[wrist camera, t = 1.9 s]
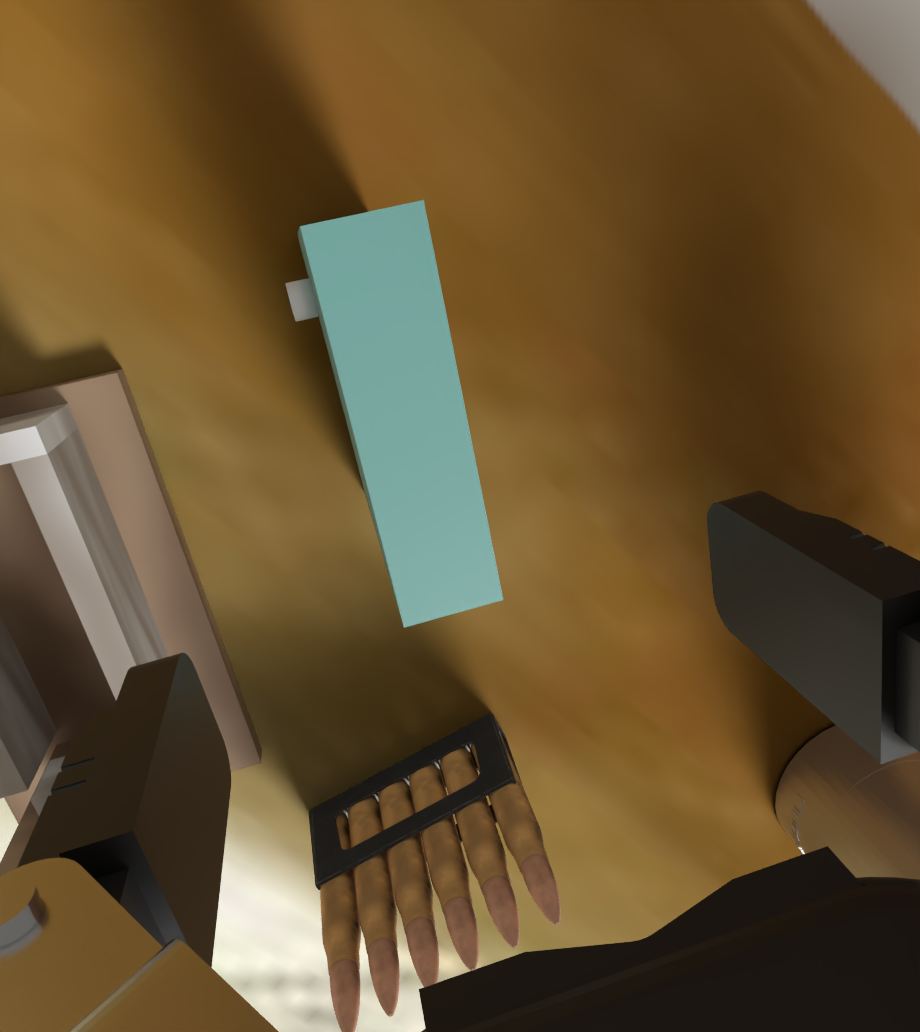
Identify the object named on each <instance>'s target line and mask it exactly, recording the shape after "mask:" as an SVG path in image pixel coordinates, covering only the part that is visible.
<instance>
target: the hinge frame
mask: <svg viewBox="0 0 920 1032" xmlns="http://www.w3.org/2000/svg"><path fill="white" fill-rule="evenodd" d="M179 653H186V654H187V655H188V656H189V657H190V659H191V660H192V662H193V664H194V667H195V669H196V671H197V674H198V676H199V679H200V681H201V684H202V686H203V689H204V691H205V694H206V696H207V699H208V702H209V704H210V707H211V709H212V712H213V714H214V717H215V719H216V722H217V724H218V727H219V729H220V732H221V734H222V737H223V739H224V742H225V745H226V749H227V753H228V757H229V763H230V770H231V772H232V771H235V770H238V769H242V768H245V767H249V766H252V765H255V764H259V763H261V756H262V749H261V746H260V743H259V741H258V738H257V735H256V732H255V730H254V727H253V724H252V721H251V719H250V716H249V713H248V711H247V708H246V705H245V702H244V700H243V697H242V694H241V691H240V689H239V686H238V683H237V681H236V678H235V675H234V672H233V670H232V667H231V664H230V661H229V659H228V656H227V653H226V650H225V648H224V645H223V642H222V640H221V637H220V634H219V631H218V629H217V626H216V623H215V620H214V618H213V615H212V612H211V609H210V607H209V604H208V601H207V599H206V596H205V593H204V590H203V588H202V585H201V582H200V579H199V577H198V574H197V571H196V568H195V566H194V563H193V560H192V558H191V555H190V552H189V549H188V547H187V544H186V541H185V538H184V536H183V533H182V530H181V528H180V525H179V522H178V519H177V517H176V514H175V511H174V508H173V506H172V503H171V500H170V497H169V495H168V492H167V489H166V487H165V484H164V481H163V478H162V476H161V473H160V470H159V467H158V465H157V462H156V459H155V456H154V454H153V451H152V448H151V446H150V443H149V440H148V437H147V435H146V432H145V429H144V426H143V424H142V421H141V418H140V415H139V413H138V410H137V407H136V405H135V402H134V399H133V396H132V394H131V391H130V388H129V385H128V383H127V380H126V377H125V375H124V372H123V369H120V370H115V371H111V372H106V373H102V374H98V375H93V376H89V377H84V378H80V379H76V380H71V381H67V382H62V383H58V384H54V385H49V386H45V387H40V388H36V389H32V390H27V391H23V392H18V393H14V394H10V395H5V396H1V397H0V798H3V797H4V798H5V800H6V802H7V804H8V805H9V807H10V809H11V811H12V813H13V815H14V817H15V818H16V820H17V822H18V824H19V825H18V827H17V829H16V831H15V833H14V835H13V838H12V840H11V842H10V844H9V846H8V848H7V850H6V852H5V854H4V857H3V859H2V861H1V863H0V876H2V875H4V874H6V873H8V872H10V871H12V870H14V869H16V868H17V866H18V864H19V861H20V859H21V857H22V854H23V852H24V850H25V848H26V845H27V843H28V841H29V838H30V836H31V834H32V832H33V829H34V827H35V825H36V822H37V820H38V818H39V816H40V813H41V811H42V809H43V806H44V804H45V802H46V800H47V797H48V796H50V795H51V788H52V786H53V783H54V781H55V779H56V777H57V774H58V773H59V772H61V765H62V763H63V761H64V758H65V756H66V754H67V751H68V749H69V747H70V745H71V742H72V740H73V739H74V738H75V737H76V736H77V735H78V734H79V732H80V731H81V730H82V729H83V728H84V727H85V726H86V725H87V724H88V723H89V722H90V721H91V720H92V718H93V717H94V716H95V715H96V714H97V713H98V712H101V711H105V710H108V709H112V708H114V705H115V703H116V700H117V697H118V695H119V692H120V690H121V687H122V684H123V682H124V679H125V676H126V674H127V671H128V669H129V668H130V667H133V666H137V665H140V664H144V663H147V662H151V661H155V660H158V659H162V658H165V657H169V656H172V655H176V654H179Z"/></svg>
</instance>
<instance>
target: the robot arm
mask: <svg viewBox="0 0 920 1032" xmlns="http://www.w3.org/2000/svg"><path fill="white" fill-rule="evenodd" d="M707 524H708V536H709V547H710V559H711V571H712V582H713V593H714V599H715V604H716V607H717V610H718V612H719V615H720V617H721V619H722V621H723V623H724V624H725V626H726V627H727V628H728V630H729V631H730V632H731V633H732V634H733V635H734V636H736V637H737V638H738V639H739V640H740V641H741V642H742V643H743V644H745V645H746V646H747V647H748V648H749V649H750V650H751V651H753V652H754V653H755V654H756V655H757V656H758V657H759V658H761V659H762V660H763V661H764V662H765V663H766V664H767V665H768V666H770V667H771V668H772V669H773V670H774V671H775V672H776V673H778V674H779V675H780V676H781V677H782V678H783V679H784V680H785V681H787V682H788V683H789V684H790V685H791V686H792V687H793V688H795V689H796V690H797V691H798V692H799V693H800V694H801V695H803V696H804V697H805V698H806V699H807V700H808V701H809V702H810V703H812V704H813V705H814V706H815V707H816V708H817V709H818V710H820V711H821V712H822V713H823V714H824V715H825V716H826V717H828V718H829V719H830V720H831V721H832V722H833V723H834V724H835V726H833V727H831V728H829V729H827V730H825V731H823V732H822V733H820V734H819V735H817V736H816V737H815V738H813V739H812V740H810V741H809V742H808V743H807V744H806V745H805V746H804V747H803V748H802V749H801V750H800V751H799V752H798V753H797V754H796V755H795V756H794V758H793V759H792V760H791V762H790V763H789V764H788V766H787V767H786V769H785V771H784V773H783V775H782V777H781V779H780V782H779V785H778V789H777V792H776V802H775V808H776V814H777V818H778V820H779V822H780V824H781V826H782V828H783V829H784V831H785V832H786V833H787V834H788V835H789V837H790V838H791V839H792V840H793V841H794V842H795V844H796V845H797V847H798V848H799V850H800V851H801V852H802V853H803V855H801V856H798V857H795V858H792V859H789V860H786V861H784V862H781V863H778V864H775V865H772V866H769V867H767V868H764V869H761V870H758V871H755V872H752V873H749V874H747V875H744V876H741V877H738V878H735V879H732V880H731V881H730V882H728V883H727V884H725V885H724V886H722V887H721V888H719V889H718V890H716V891H715V892H714V893H712V894H711V895H709V896H708V897H706V898H705V899H703V900H702V901H700V902H699V903H698V904H696V905H695V906H693V907H692V908H690V909H689V910H687V911H686V912H684V913H683V914H682V915H680V916H679V917H677V918H676V919H674V920H673V921H671V922H670V923H668V924H667V925H666V926H664V927H663V928H661V929H660V930H658V931H657V932H655V933H654V934H652V935H650V936H649V937H647V938H644V939H641V940H638V941H633V942H624V943H614V944H604V945H594V946H583V947H573V948H563V949H553V950H543V951H532V952H524V953H521V954H518V955H516V956H513V957H510V958H507V959H504V960H501V961H498V962H496V963H493V964H490V965H487V966H484V967H481V968H478V969H476V970H473V971H470V972H467V973H464V974H461V975H459V976H456V977H453V978H450V979H447V980H444V981H441V982H439V983H436V984H433V985H430V986H427V987H424V988H421V989H419V992H420V998H421V1004H422V1010H423V1015H424V1021H425V1027H426V1029H424V1030H423V1031H422V1032H920V561H919V560H917V559H915V558H913V557H911V556H909V555H907V554H905V553H903V552H901V551H899V550H897V549H895V548H893V547H891V546H888V547H885V545H884V543H883V542H881V541H879V540H877V539H875V538H873V537H871V536H869V535H865V536H863V534H862V532H861V531H859V530H857V529H855V528H853V527H851V526H849V525H847V524H845V523H843V522H841V521H839V520H837V519H835V518H830V517H826V516H821V515H817V514H812V513H808V512H804V511H799V510H797V509H795V508H793V507H791V506H790V505H788V504H786V503H784V502H782V501H780V500H778V499H776V498H774V497H772V496H770V495H769V494H767V493H765V492H762V491H757V492H753V493H749V494H746V495H742V496H739V497H735V498H732V499H728V500H725V501H721V502H718V503H714V504H713V505H711V507H710V508H709V511H708V517H707ZM230 790H231V770H230V763H229V757H228V753H227V749H226V745H225V742H224V739H223V737H222V734H221V732H220V729H219V727H218V724H217V722H216V719H215V717H214V714H213V712H212V709H211V707H210V704H209V702H208V699H207V696H206V694H205V691H204V689H203V686H202V684H201V681H200V679H199V676H198V674H197V671H196V669H195V667H194V664H193V662H192V660H191V659H190V657H189V656H188V655H187V654H186V653H179V654H176V655H172V656H169V657H165V658H162V659H158V660H155V661H151V662H147V663H144V664H140V665H137V666H133V667H130V668H129V669H128V671H127V674H126V676H125V679H124V682H123V684H122V687H121V690H120V692H119V695H118V697H117V700H116V703H115V705H114V708H112V709H108V710H105V711H101V712H98V713H97V714H96V715H95V716H94V717H93V718H92V720H91V721H90V722H89V723H88V724H87V725H86V726H85V727H84V728H83V729H82V730H81V731H80V732H79V734H78V735H77V736H76V737H75V738H74V739H73V740H72V742H71V745H70V747H69V749H68V751H67V754H66V756H65V758H64V761H63V763H62V765H61V772H59V773H58V774H57V777H56V779H55V781H54V783H53V786H52V788H51V795H50V796H48V797H47V800H46V802H45V804H44V806H43V809H42V811H41V813H40V816H39V818H38V820H37V822H36V825H35V827H34V829H33V832H32V834H31V836H30V838H29V841H28V843H27V845H26V848H25V850H24V852H23V854H22V857H21V859H20V861H19V864H18V866H17V868H16V869H14V870H12V871H10V872H8V873H6V874H4V875H2V876H0V1032H278V1031H277V1030H276V1029H275V1028H274V1027H273V1026H272V1025H271V1024H270V1023H269V1022H268V1021H267V1020H266V1019H265V1018H264V1017H263V1016H262V1015H260V1014H259V1013H258V1012H257V1011H256V1010H255V1009H254V1008H253V1007H252V1006H251V1005H250V1004H249V1003H248V1002H247V1001H246V1000H245V999H244V998H243V997H242V996H240V995H239V994H238V993H237V992H236V991H235V990H234V989H233V988H232V987H231V986H230V985H229V984H228V983H227V982H226V981H225V980H224V979H223V978H221V977H220V976H219V975H218V974H217V973H216V972H215V971H214V970H213V969H212V968H211V966H212V957H213V948H214V938H215V929H216V920H217V910H218V901H219V892H220V883H221V873H222V864H223V855H224V845H225V836H226V827H227V817H228V808H229V799H230Z"/></svg>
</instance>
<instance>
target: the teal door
mask: <svg viewBox="0 0 920 1032" xmlns="http://www.w3.org/2000/svg"><path fill="white" fill-rule="evenodd" d="M297 236H298V240H299V243H300V247H301V251H302V255H303V259H304V262H305V266H306V270H307V274H308V278H307V279H302V280H298V281H293V282H289V283H285V284H286V289H287V292H288V296H289V300H290V304H291V307H292V311H293V314H294V318H295V321H296V322H297V321H301V320H306V319H310V318H315V317H319V320H320V324H321V327H322V331H323V335H324V339H325V343H326V347H327V350H328V354H329V358H330V362H331V366H332V370H333V373H334V377H335V381H336V385H337V389H338V392H339V396H340V400H341V404H342V408H343V412H344V415H345V419H346V423H347V427H348V431H349V434H350V438H351V442H352V446H353V450H354V454H355V457H356V461H357V465H358V469H359V473H360V477H361V480H362V484H363V488H364V492H365V495H366V499H367V502H368V506H369V509H370V512H371V516H372V519H373V523H374V526H375V530H376V533H377V537H378V540H379V543H380V547H381V550H382V554H383V557H384V561H385V564H386V567H387V571H388V574H389V578H390V581H391V585H392V588H393V592H394V595H395V598H396V602H397V605H398V609H399V612H400V616H401V619H402V622H403V626H404V628H405V627H408V626H412V625H416V624H419V623H423V622H426V621H430V620H433V619H437V618H440V617H444V616H448V615H451V614H455V613H458V612H462V611H465V610H469V609H472V608H476V607H480V606H483V605H487V604H490V603H494V602H497V601H501V600H503V596H502V591H501V586H500V581H499V576H498V571H497V566H496V561H495V556H494V551H493V546H492V541H491V536H490V531H489V526H488V521H487V516H486V511H485V506H484V501H483V496H482V491H481V486H480V480H479V475H478V470H477V465H476V460H475V455H474V450H473V445H472V440H471V435H470V430H469V425H468V420H467V415H466V410H465V405H464V400H463V395H462V390H461V385H460V380H459V375H458V370H457V365H456V360H455V355H454V350H453V345H452V340H451V335H450V330H449V325H448V320H447V315H446V310H445V305H444V300H443V295H442V290H441V285H440V280H439V275H438V270H437V265H436V260H435V255H434V250H433V245H432V240H431V235H430V230H429V225H428V220H427V215H426V210H425V205H424V200H422V201H418V202H413V203H408V204H403V205H399V206H394V207H389V208H384V209H380V210H375V211H370V212H365V213H361V214H356V215H351V216H346V217H342V218H337V219H332V220H327V221H323V222H318V223H313V224H308V225H304V226H300V228H299V230H298V233H297Z"/></svg>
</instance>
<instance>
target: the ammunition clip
mask: <svg viewBox="0 0 920 1032" xmlns="http://www.w3.org/2000/svg"><path fill="white" fill-rule="evenodd" d="M477 770H479V772H480V774H479V775H478V772H477ZM446 787H447V790H448V794H449V795H448V796H447V792H446V789H445V788H446ZM487 795H488V796H489V799H490V802H491V805H490V806H489V804H488V801H487V799H486V796H487ZM453 814H455V818H456V821H457V824H456V825H455V822H454V818H453ZM309 822H310V832H311V843H312V853H313V864H314V874H315V885H316V887H317V888H318V890H320V897H321V916H322V936H323V945H324V949H325V952H326V955H327V961H328V971H329V975H330V987H331V995H332V1001H333V1007H334V1011H335V1014H336V1018H337V1021H338V1024H339V1026H340V1028H341V1031H342V1032H354V1031H355V1028H356V1025H357V1020H358V1014H359V1005H360V974H359V969H360V962H359V948H360V940H361V929H362V932H363V935H364V938H365V944H366V950H367V954H368V959H369V967H370V973H371V977H372V982H373V985H374V989H375V992H376V995H377V997H378V999H379V1002H380V1004H381V1006H382V1008H383V1010H384V1011H385V1013H386V1014H387V1015H388V1016H390V1017H391V1016H392V1015H393V1014H394V1012H395V1009H396V1006H397V1001H398V993H399V959H398V951H397V935H396V923H397V910H396V905H397V908H398V910H399V912H400V915H401V917H402V921H403V926H404V930H405V934H406V937H407V942H408V947H409V951H410V955H411V958H412V962H413V964H414V967H415V970H416V972H417V974H418V976H419V979H420V981H421V983H422V984H423V986H424V987H427V986H430V985H433V984H436V983H437V982H438V971H439V952H438V941H437V936H436V931H435V921H434V914H433V891H432V886H431V882H430V877H431V881H432V884H433V887H434V889H435V892H436V894H437V896H438V898H439V900H440V904H441V907H442V911H443V913H444V915H445V920H446V924H447V927H448V930H449V933H450V936H451V939H452V941H453V944H454V946H455V948H456V950H457V953H458V954H459V956H460V958H461V960H462V961H463V963H464V964H465V965H466V967H467V968H468V969H469V970H470V971H473V970H476V967H477V963H478V955H479V941H478V930H477V924H476V918H475V914H474V910H473V903H472V899H471V894H470V889H469V873H468V869H467V865H466V862H465V858H464V854H463V851H462V847H461V842H463V845H464V848H465V852H466V855H467V858H468V862H469V864H470V867H471V869H472V871H473V873H474V875H475V876H476V878H477V880H478V882H479V885H480V888H481V891H482V894H483V895H484V898H485V901H486V904H487V907H488V910H489V912H490V915H491V917H492V919H493V921H494V923H495V925H496V927H497V929H498V931H499V932H500V934H501V935H502V937H503V938H504V939H505V941H506V942H507V943H508V944H509V945H510V946H511V947H512V948H517V946H518V944H519V936H520V926H519V915H518V909H517V904H516V900H515V896H514V893H513V890H512V887H511V881H510V878H509V874H508V871H507V863H506V855H505V851H504V848H503V845H502V842H501V839H500V836H499V834H498V831H497V828H496V825H495V824H496V823H498V824H499V826H500V829H501V832H502V835H503V837H504V840H505V843H506V845H507V848H508V850H509V851H510V853H511V854H512V856H513V857H514V859H515V860H516V862H517V865H518V867H519V869H520V872H521V874H522V875H523V877H524V880H525V883H526V885H527V888H528V890H529V892H530V894H531V895H532V897H533V899H534V901H535V903H536V904H537V906H538V907H539V909H540V910H541V912H542V913H543V914H544V915H545V917H546V918H547V919H548V920H549V921H550V922H552V923H553V924H554V925H559V923H560V918H561V906H560V898H559V893H558V889H557V885H556V881H555V878H554V875H553V872H552V869H551V867H550V864H549V860H548V857H547V854H546V851H545V848H544V843H543V837H542V833H541V830H540V827H539V825H538V822H537V820H536V817H535V815H534V813H533V810H532V808H531V805H530V803H529V801H528V798H527V796H526V793H525V791H524V788H523V786H522V783H521V780H520V777H519V774H518V771H517V768H516V765H515V762H514V760H513V757H512V754H511V751H510V748H509V745H508V742H507V739H506V737H505V735H504V733H503V731H502V730H501V728H500V726H499V724H498V723H497V721H496V719H495V717H494V715H493V714H491V713H489V714H488V715H486V716H484V717H482V718H480V719H478V720H476V721H475V722H473V723H471V724H469V725H467V726H465V727H463V728H462V729H460V730H458V731H456V732H454V733H452V734H450V735H449V736H447V737H445V738H443V739H441V740H439V741H437V742H436V743H434V744H432V745H430V746H428V747H426V748H424V749H422V750H421V751H419V752H417V753H415V754H413V755H411V756H409V757H408V758H406V759H404V760H402V761H400V762H398V763H396V764H395V765H393V766H391V767H389V768H387V769H385V770H383V771H382V772H380V773H378V774H376V775H374V776H372V777H370V778H369V779H367V780H365V781H363V782H361V783H359V784H357V785H356V786H354V787H352V788H350V789H348V790H346V791H344V792H343V793H341V794H339V795H337V796H335V797H333V798H331V799H329V800H328V801H326V802H324V803H322V804H320V805H318V806H316V807H315V808H313V809H311V811H310V813H309ZM420 833H421V834H420ZM421 837H422V839H421ZM422 842H423V843H422ZM426 861H427V863H426ZM427 864H428V867H427ZM428 868H429V872H428ZM429 873H430V877H429ZM395 901H396V903H395ZM360 926H361V928H360Z"/></svg>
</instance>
